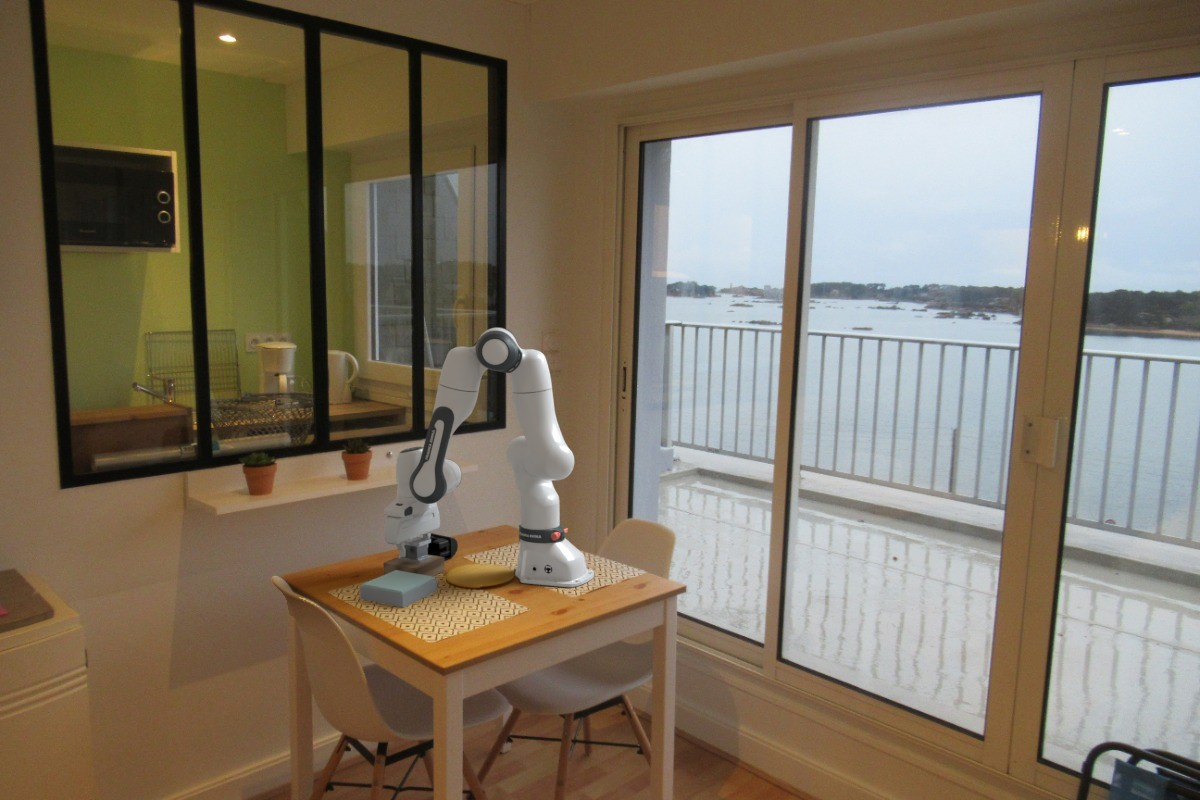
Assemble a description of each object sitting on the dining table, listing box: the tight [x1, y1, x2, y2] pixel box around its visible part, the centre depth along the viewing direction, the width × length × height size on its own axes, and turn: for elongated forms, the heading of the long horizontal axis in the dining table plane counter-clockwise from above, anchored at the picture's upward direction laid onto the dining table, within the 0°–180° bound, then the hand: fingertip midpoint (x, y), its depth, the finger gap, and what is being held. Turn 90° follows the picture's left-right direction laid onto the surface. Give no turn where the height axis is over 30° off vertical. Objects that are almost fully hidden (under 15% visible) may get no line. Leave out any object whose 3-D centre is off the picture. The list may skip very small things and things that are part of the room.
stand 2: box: [359, 570, 438, 608], centre depth 223 cm, size 14×14×4 cm
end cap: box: [428, 532, 459, 562], centre depth 256 cm, size 10×7×7 cm
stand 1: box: [383, 555, 446, 577], centre depth 240 cm, size 12×12×4 cm
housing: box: [396, 536, 431, 564], centre depth 240 cm, size 8×5×6 cm, turn 63°
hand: (414, 552), depth 240 cm, fingers open, 8 cm apart
